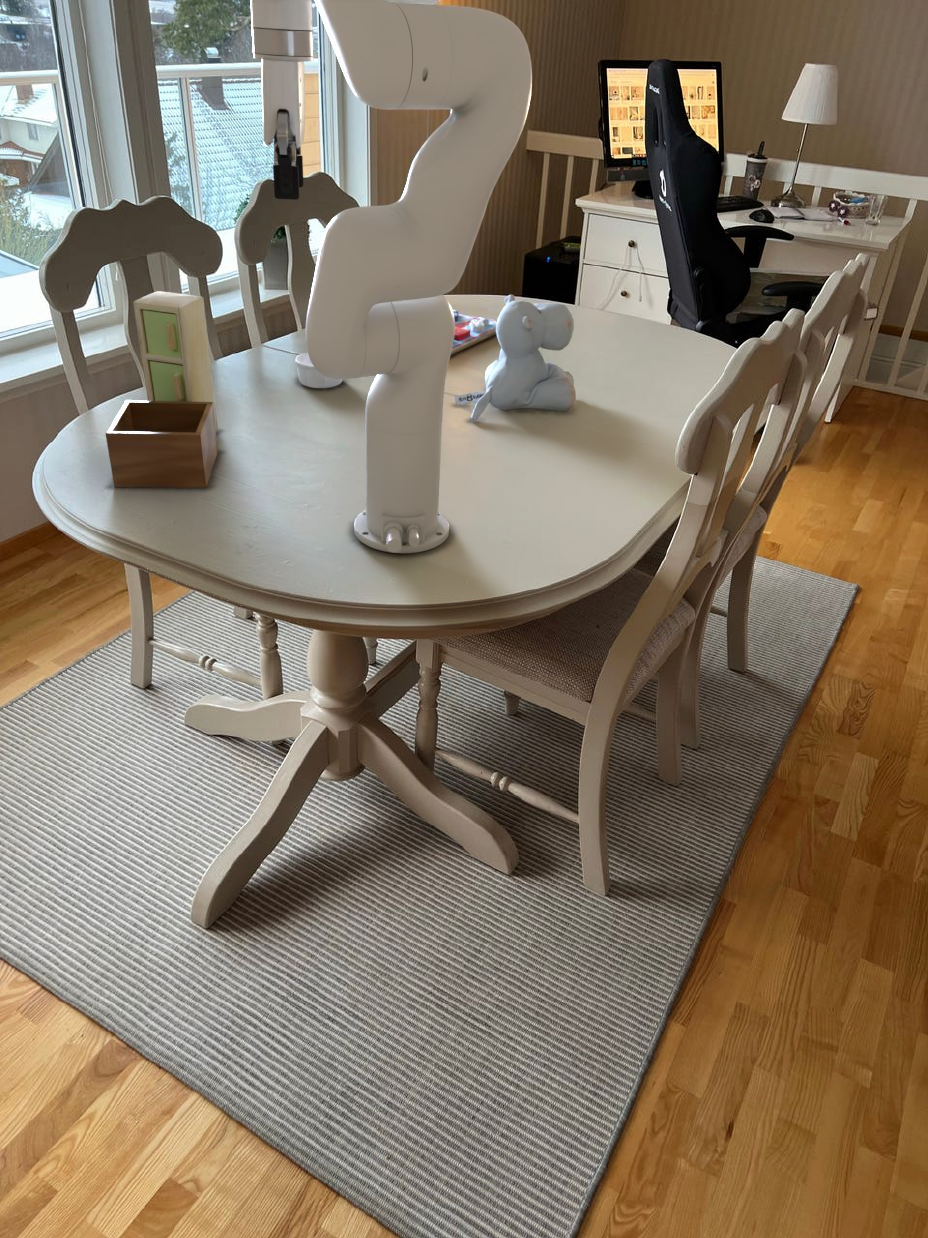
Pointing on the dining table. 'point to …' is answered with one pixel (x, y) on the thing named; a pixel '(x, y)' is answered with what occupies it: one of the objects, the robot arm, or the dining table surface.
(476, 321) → the puzzle board
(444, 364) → the robot arm
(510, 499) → the dining table surface
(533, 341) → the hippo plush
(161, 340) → the toy refrigerator
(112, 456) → the open wooden box
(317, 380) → the ramekin
